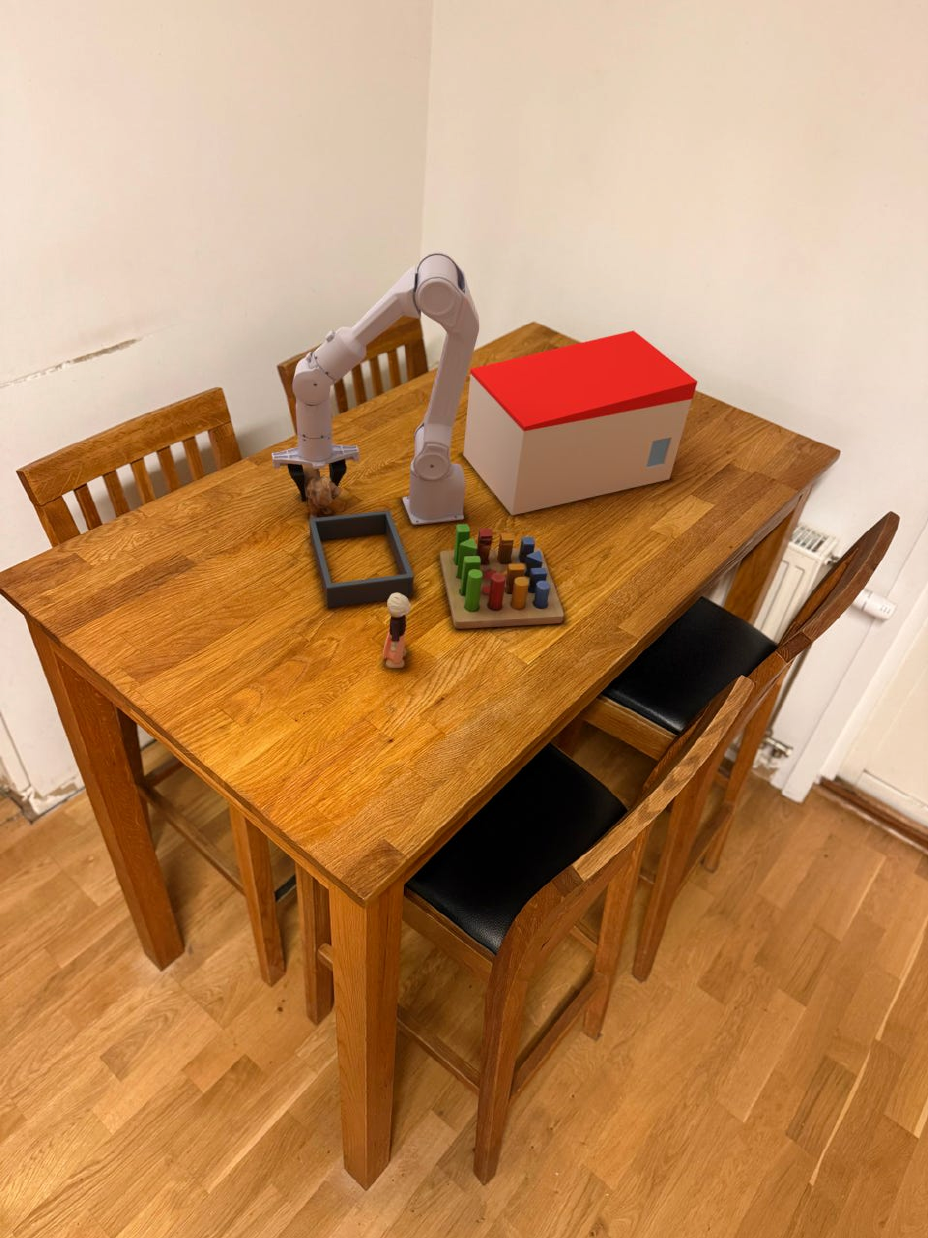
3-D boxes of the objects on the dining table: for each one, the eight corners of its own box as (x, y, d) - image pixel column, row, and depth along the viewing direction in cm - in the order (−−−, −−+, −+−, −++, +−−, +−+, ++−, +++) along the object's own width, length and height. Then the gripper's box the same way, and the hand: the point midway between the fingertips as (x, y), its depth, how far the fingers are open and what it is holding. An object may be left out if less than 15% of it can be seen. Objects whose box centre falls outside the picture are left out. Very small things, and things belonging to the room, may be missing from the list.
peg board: (563, 624, 139) (572, 583, 133) (454, 630, 136) (458, 588, 131) (539, 553, 152) (546, 513, 146) (439, 558, 149) (441, 517, 143)
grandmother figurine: (382, 641, 133) (383, 578, 125) (407, 641, 134) (410, 578, 125) (382, 679, 128) (383, 615, 119) (409, 679, 128) (412, 615, 120)
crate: (389, 529, 153) (389, 510, 151) (413, 596, 141) (413, 576, 138) (310, 538, 150) (308, 518, 147) (327, 608, 138) (326, 588, 135)
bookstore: (671, 478, 172) (698, 381, 157) (512, 515, 159) (526, 412, 145) (613, 424, 185) (634, 330, 170) (462, 454, 172) (471, 355, 158)
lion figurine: (346, 523, 154) (343, 480, 147) (317, 531, 152) (313, 488, 145) (315, 478, 163) (311, 436, 156) (287, 485, 161) (282, 443, 154)
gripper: (273, 446, 142) (279, 514, 151) (362, 438, 146) (362, 505, 155) (268, 423, 147) (273, 490, 156) (354, 416, 150) (355, 482, 160)
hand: (317, 496), depth 156 cm, fingers closed on lion figurine, 4 cm apart
